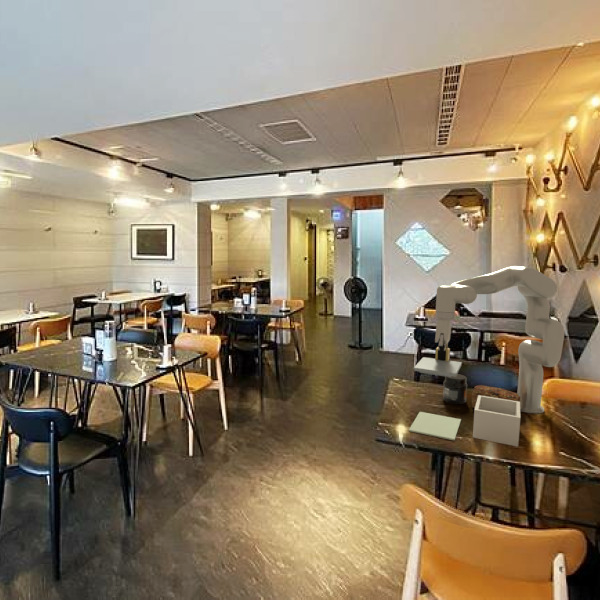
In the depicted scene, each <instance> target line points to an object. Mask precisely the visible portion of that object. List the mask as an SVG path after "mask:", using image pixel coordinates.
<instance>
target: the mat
mask: <svg viewBox="0 0 600 600" xmlns="http://www.w3.org/2000/svg"><path fill="white" fill-rule="evenodd" d="M461 422H462V418H455V417H451V416H445V415H441V414H433V413H429V412H424V411H419V412H418V414H417V416H416V417H415V419H414V421H412V424H411V425H410V427H409V429H408V432H411V433H416V434H422V435H426V436H431V437H436V438H440V439H444V440H445V439H446V440H449V441H456V439H457V438H456V437H457V434H458V431H459V428H460V425H461Z"/></svg>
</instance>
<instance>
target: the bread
mask: <svg viewBox="0 0 600 600" xmlns="http://www.w3.org/2000/svg"><path fill="white" fill-rule="evenodd" d="M478 395H481V396H487V397H493V398H500V399H506V400H512V401H519V402H520V396H519V395H518V394H517V392H513V391H510V390H506V389H505V388H502V387H501V388H499V387H497V386H495V387H493V386H486V385H483V384H478V385H475V386H474V388H472V393H471V401H470V402H471V408H474V409H475V406H476V402H477V398H478Z"/></svg>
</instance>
